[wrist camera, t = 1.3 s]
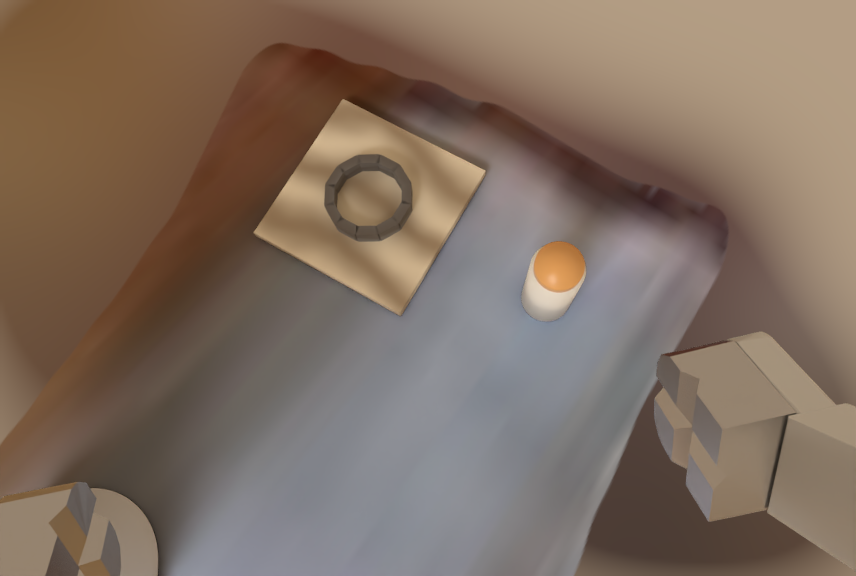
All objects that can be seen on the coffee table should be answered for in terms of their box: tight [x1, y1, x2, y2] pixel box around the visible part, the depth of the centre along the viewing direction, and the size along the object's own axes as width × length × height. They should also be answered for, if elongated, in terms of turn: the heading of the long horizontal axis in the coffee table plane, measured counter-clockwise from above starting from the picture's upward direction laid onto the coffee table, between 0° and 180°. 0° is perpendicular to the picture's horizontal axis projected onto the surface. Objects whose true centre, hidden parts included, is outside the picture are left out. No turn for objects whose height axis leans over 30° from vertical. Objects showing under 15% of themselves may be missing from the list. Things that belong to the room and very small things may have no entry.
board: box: [254, 99, 486, 316], centre depth 77 cm, size 18×18×3 cm
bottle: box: [521, 241, 586, 322], centre depth 70 cm, size 5×5×11 cm
